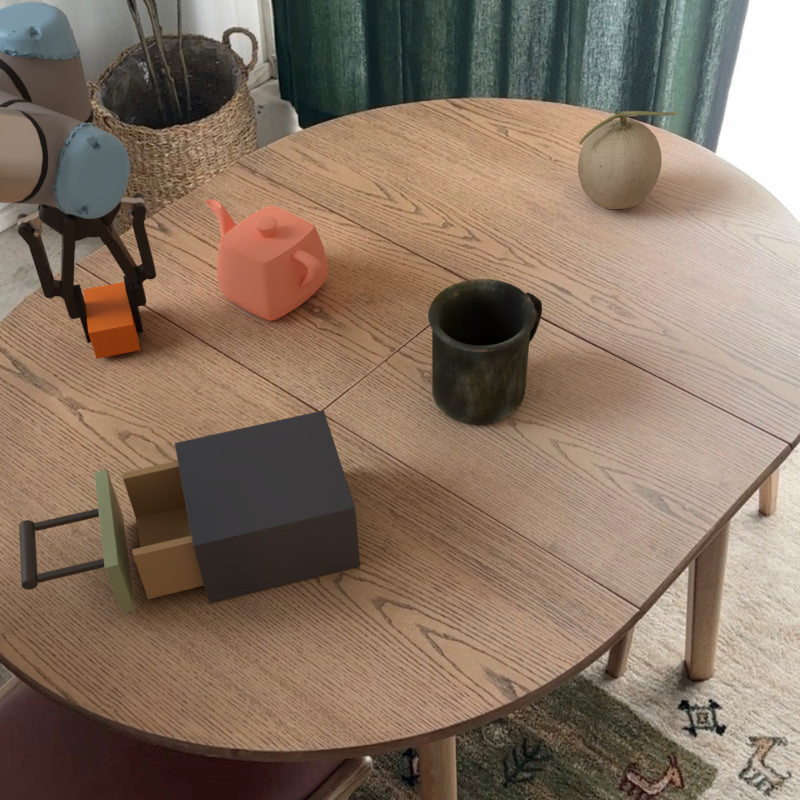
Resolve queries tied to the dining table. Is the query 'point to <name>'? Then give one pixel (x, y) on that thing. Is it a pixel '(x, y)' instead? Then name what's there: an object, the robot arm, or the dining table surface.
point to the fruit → (620, 160)
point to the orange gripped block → (110, 320)
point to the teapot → (269, 260)
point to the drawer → (157, 530)
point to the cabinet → (267, 506)
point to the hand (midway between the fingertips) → (114, 329)
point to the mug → (481, 348)
